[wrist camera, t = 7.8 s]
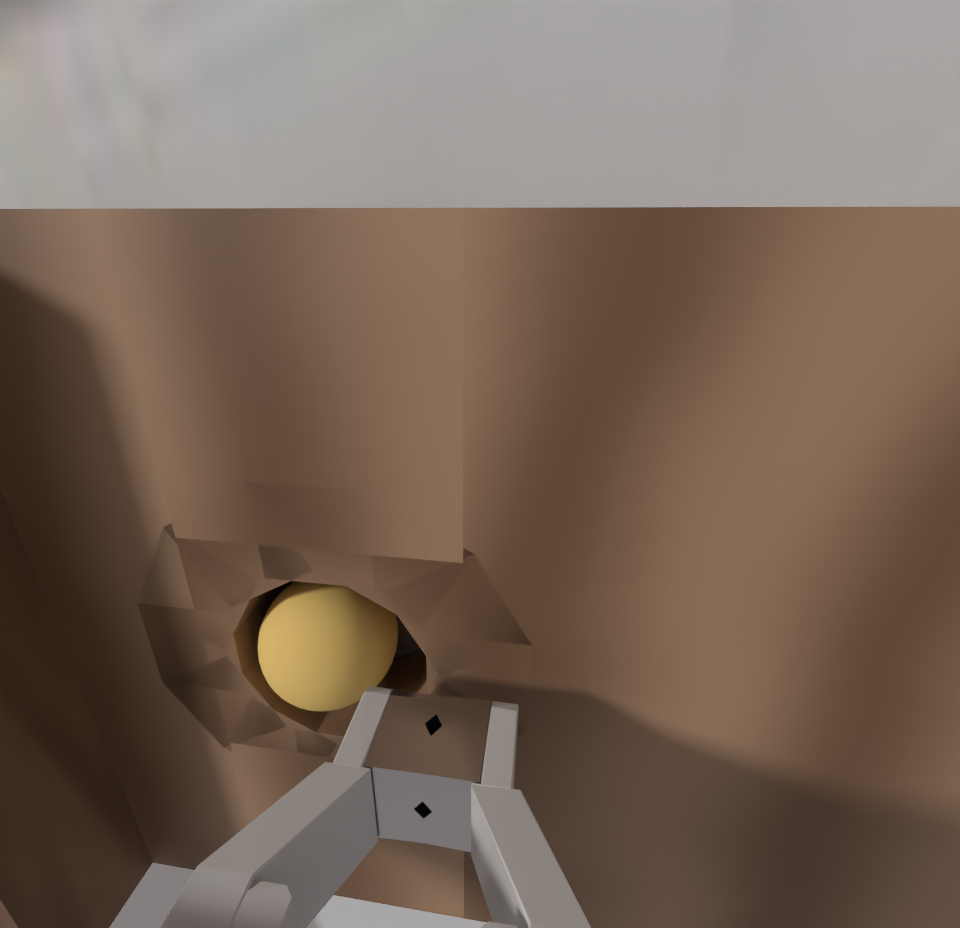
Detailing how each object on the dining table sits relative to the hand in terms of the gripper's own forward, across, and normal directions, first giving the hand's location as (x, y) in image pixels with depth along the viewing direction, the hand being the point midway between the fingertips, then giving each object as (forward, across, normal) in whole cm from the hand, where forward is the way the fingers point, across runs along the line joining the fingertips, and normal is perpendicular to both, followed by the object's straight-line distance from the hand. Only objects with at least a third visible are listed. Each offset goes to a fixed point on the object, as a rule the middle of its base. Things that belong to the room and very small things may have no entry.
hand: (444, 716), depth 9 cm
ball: (+2, +3, 0) cm, 4 cm away
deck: (+3, -3, 0) cm, 5 cm away
